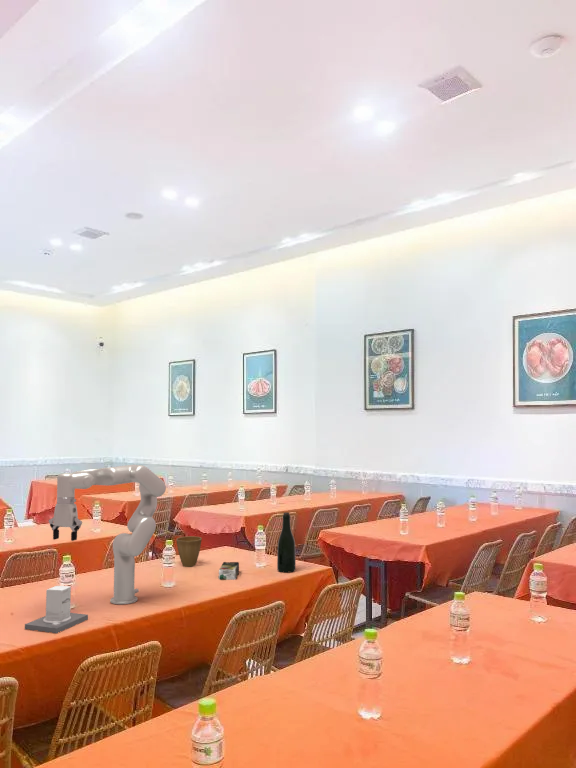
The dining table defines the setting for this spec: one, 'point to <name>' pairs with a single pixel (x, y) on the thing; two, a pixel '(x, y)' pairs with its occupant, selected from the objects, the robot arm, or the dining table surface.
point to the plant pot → (189, 550)
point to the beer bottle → (286, 547)
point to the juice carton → (229, 570)
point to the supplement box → (58, 603)
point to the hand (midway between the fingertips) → (64, 539)
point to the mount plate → (56, 623)
